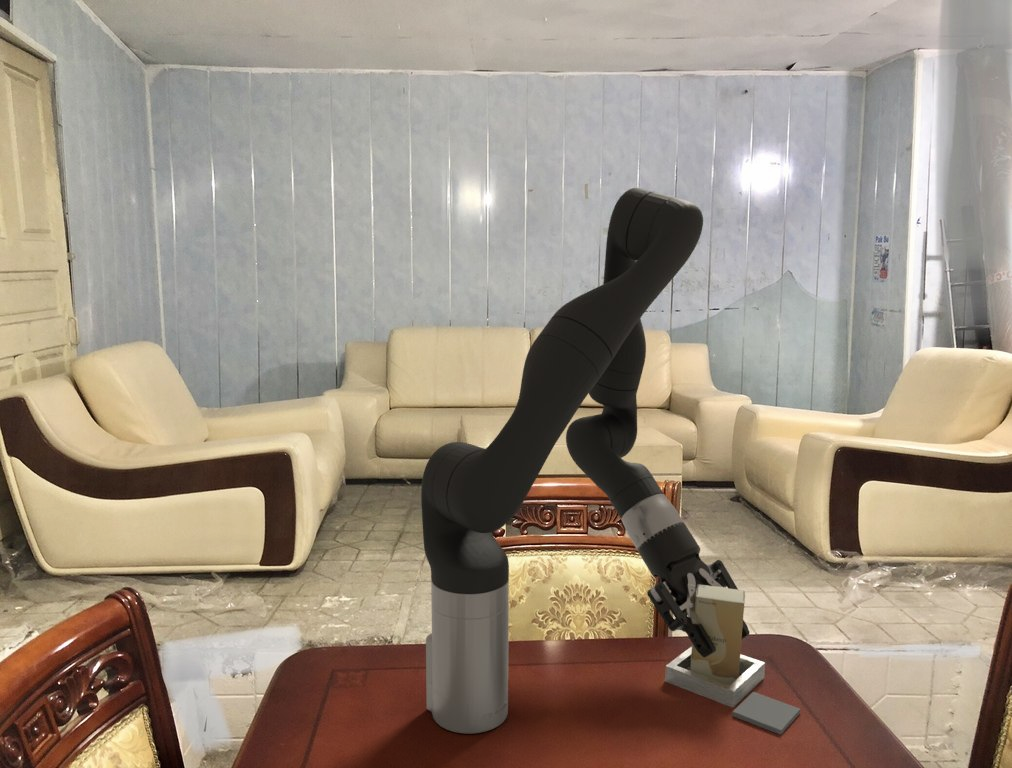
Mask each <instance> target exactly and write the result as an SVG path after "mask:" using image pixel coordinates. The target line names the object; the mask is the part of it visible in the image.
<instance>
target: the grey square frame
mask: <svg viewBox="0 0 1012 768" xmlns="http://www.w3.org/2000/svg"><path fill="white" fill-rule="evenodd" d="M691 653H692V645H691V646H690V647H688V649H686V650H684V652H682V653H681V654H679V655H678V656H677V657H676V658H674V659H672V660H671V661H670V662H669V663H667V664H666V665H665V672H664V674H665V675H664V676H665V677H664V682H665V683H668V684H671V685H673V686H675V687H678V688H680V689H683V690H686V691H689V692H691V693H693V694H696V695H698V696H701V697H705V698H707V699H709V700H711V701H714V702H717V703H719V704H722V705H724V706H728V707H730V708H732V709H733V708H735V706H737V704H739V702H741V701H742V700H743V699H744V698H745V697H746V696H747V695H748V694H749V693H750V692H752V691H753V689H754V688H755V687H756V686H758V685H759V684H760V683H761V682H762V680H764V679H765V673H766V671H765V670H766V662H764V661H762V660H759V659H756V658H753V657H751V656H747V655H744V654H741V653H740V663H739V676H738V678H737V679H736V680H735V681H734V682H733V683H732V684H731V685H728V684H725V683H722V682H720V681H717V680H714V679H711V678H709V677H706V676H703V675H700V674H698V673H695V672H692V671H690V667H691ZM740 674H741V675H740Z"/></svg>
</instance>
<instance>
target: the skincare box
mask: <svg viewBox="0 0 1012 768" xmlns="http://www.w3.org/2000/svg"><path fill="white" fill-rule="evenodd" d="M745 601H746V591H745V590H743V589H738V590H736V589H729V588H728V587H726V588H725V587H717V586H707V585H701V584H698V585H697V590H696V600H695V613H696V614H697V615H698V620H699V623H698V625H699V624H702V626H703V627H704V629H705V631H706V632H707V634H708V636H709V637H710V639H711V641H712V642H713V644H714V646H715V647H716V651H715V652H714V653H712V654H710V655H709V656H707V657H702V656H701V654H699V653H698V652H697V650H696V648H695V646H694V645H693V643H692V642H691V643H692V644H691V646H692V653H691V667H690V671H692V672H695V673H698V674H700V675H703V676H706V677H709V678H711V679H714V680H717V681H720V682H722V683H725V684H728V685H731V684H732V683H733V682H734V681H735V680H736V679H737V678H739V677H740V673H739V663H740V654H741V650H742V640H743V639H742V627H743V620H744V613H745V612H744V610H745Z"/></svg>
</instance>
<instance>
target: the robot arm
mask: <svg viewBox="0 0 1012 768" xmlns="http://www.w3.org/2000/svg"><path fill="white" fill-rule="evenodd" d="M613 207H614V208H613V209H612V212H611V215H610V219H609V223H608V228H607V235H606V243H605V244H606V245H605V256H604V258H605V259H604V269H603V284H602V285H599V286H597V287H595V288H593V289H591V290H589V291H587V292H585V293H582V294H580V295H579V296H577V297H575V298H572V300H570V301H568V302H567V303H565V304H564V305H562V306H560V308H559V309H557V310H556V312H555V313H554V314H553V315H552V317H551V318H550V319H549V320H548V322H547V323H546V324H545V326H544V328H542V330H541V332H540V333H539V334H538V336H537V337H536V338H535V340H534V341H533V342H532V343H531V345H530V347H529V349H528V352H527V355H526V356H525V357H526V358H525V360H524V365H523V368H522V369H523V371H522V375H521V382H520V383H521V384H520V388H519V389H520V391H519V395H518V400H517V402H516V406H515V408H514V409H513V412H512V414H511V415H510V417H509V419H508V420H507V421H506V423H505V424H504V426H503V427H502V428H501V430H500V431H499V433H498V434H497V435H496V436H495V438H493V440H492V441H491V443H490V444H489V445H488V446H487V447H486V448H484V447H480V446H478V445H474V444H471V443H469V442H462V441H452V442H449V443H446V444H443V445H442V446H440V447H439V448H437V450H435V451H434V452H433V454H432V455H431V456H430V458H429V459H428V461H427V462H426V465H425V467H424V471H423V475H422V479H421V488H420V489H421V492H420V493H421V494H420V497H421V499H420V500H421V505H420V506H421V518H422V519H421V522H422V523H421V524H422V534H423V536H422V537H423V548H424V549H423V550H424V554H425V557H426V559H427V563H428V564H429V567H430V582H431V583H430V584H431V589H430V590H431V596H430V597H431V599H430V600H431V601H430V602H431V633H430V634H427V636H426V638H425V664H426V665H425V672H426V673H425V676H426V677H425V678H426V679H425V680H426V681H425V682H426V684H425V685H426V686H425V687H426V691H425V692H426V710H428V711H429V712H430V713H431V714H432V719H433V720H434V722H436V724H438V725H439V726H440V727H441V728H443V729H444V730H447V731H450V732H453V733H459V734H479V733H480V734H481V733H485V732H489V731H491V730H493V729H495V728H498V727H500V725H502V723H504V722H505V720H506V719H507V718H508V714H509V712H508V711H509V636H510V634H509V627H510V625H509V623H510V619H509V614H510V613H509V610H510V607H509V606H510V602H509V599H510V597H509V596H510V595H509V594H510V591H509V590H510V584H509V583H510V581H509V579H510V565H509V564H510V563H509V558H508V555H507V553H506V552H505V550H504V549H503V548H502V547H501V545H500V544H499V543H498V540H496V538H495V536H494V535H493V532H497V530H499V529H502V528H503V527H504V526H506V525H507V524H508V522H510V521H511V520H512V519H513V517H514V516H515V515H516V513H517V512H518V511H519V509H520V507H521V506H522V505H523V503H524V501H525V500H526V498H527V497H528V494H529V492H530V490H531V489H532V487H533V485H534V484H535V482H536V480H537V478H538V476H539V474H540V472H541V470H542V469H543V466H544V465H545V463H546V462H547V459H548V458H549V456H550V454H551V452H552V450H553V449H554V446H555V445H556V443H557V442H558V440H559V439H560V437H561V435H562V434H563V433H564V431H565V430H566V432H565V443H566V448H567V451H568V454H569V455H570V458H571V459H572V460H573V462H574V464H575V465H577V467H578V468H579V469H580V470H581V471H582V473H584V474H585V476H586V477H588V478H589V480H590V481H592V482H593V483H594V485H596V487H597V488H598V489H599V490H601V491H602V492H603V493H604V494H605V495H606V496H607V498H608V499H609V501H610V503H611V504H612V506H613V508H614V510H615V511H616V513H617V515H618V516H619V518H620V520H621V522H622V524H623V526H624V529H625V531H626V532H627V535H628V537H629V538H630V540H631V542H632V544H633V545H634V548H635V549H636V550H637V552H638V554H639V555H640V557H641V559H642V560H643V562H644V564H645V566H646V567H647V569H648V570H649V572H650V574H651V576H653V578H659V580H660V581H658V582H657V583H656V584H655V585H653V586H652V587H651V588H649V589H648V590H647V591H646V593H647V596H648V598H649V599H650V601H651V602H652V604H653V606H654V607H655V609H656V610H657V612H658V613H659V615H660V617H661V618H662V620H663V622H664V623H665V625H666V626H667V627H668V629H669V630H670V631H671V632H676V631H682V632H684V633H686V635H687V636H688V638H689V640H690V642H691V643H693V645H694V646H695V648H696V650H697V652H698V653H699V654H701V656H702V657H707V656H709V655H710V654H712V653H714V652H715V651H716V647H715V646H714V644H713V642H712V641H711V639H710V637H709V636H708V634H707V632H706V631H705V629H704V627H703V626H702V624H699V625H698V623H699V620H698V615H697V614H696V613H695V600H696V590H697V585H698V584H701V585H707V586H717V587H725V588H729V589H736V590H739V589H738V588H739V587H737V585H736V584H735V582H734V580H733V578H732V576H731V574H730V573H729V571H728V569H727V568H726V566H725V564H724V563H723V561H721V559H717V560H716V561H715V560H714V562H712V563H711V564H706V563H705V562H704V561H703V560H702V559H701V557H700V553H701V547H700V545H699V543H698V542H697V541H696V538H694V536H693V534H692V533H691V531H690V529H689V528H688V526H687V525H686V523H685V521H684V520H683V518H682V517H681V516H680V514H679V511H677V509H676V508H675V506H674V505H673V504H672V502H671V501H670V500H669V499H668V498H667V496H666V495H665V493H664V492H663V490H662V489H661V487H660V485H659V484H658V482H657V481H656V479H655V477H654V476H653V474H652V473H651V471H650V470H649V469H648V467H646V466H645V465H644V464H642V463H638V462H637V463H636V462H630V461H626V460H624V459H623V458H624V457H626V456H627V455H628V454H629V453H630V452H631V451H632V449H633V447H634V445H635V443H636V440H637V436H638V404H637V403H638V402H637V401H638V400H637V394H638V390H639V386H640V382H641V380H642V379H641V378H642V374H643V370H644V367H645V362H646V357H647V356H646V355H647V343H646V336H645V331H644V326H643V323H642V320H641V318H642V317H643V315H644V314H645V312H646V311H647V310H649V307H650V306H651V305H652V304H653V303H654V302H655V300H656V299H657V298H658V296H659V295H660V294H661V293H662V292H663V291H664V290H665V288H666V287H667V286H668V285H669V283H670V282H671V281H672V280H673V279H674V278H675V276H676V275H677V274H678V273H679V271H680V270H681V269H682V268H683V266H685V264H686V262H688V260H689V259H690V257H691V255H692V254H693V252H694V251H695V248H696V247H697V245H698V242H699V240H700V238H701V235H702V231H703V226H704V216H703V213H702V211H701V209H700V208H699V206H697V205H696V204H695V203H692V202H691V201H688V200H685V199H682V198H678V197H675V196H672V195H668V194H664V193H660V192H656V191H652V190H648V189H644V188H638V187H633V188H630V189H628V190H626V191H625V192H624V193H622V195H621V196H620V197H619V198H618V200H617V201H616V203H615V205H614V206H613ZM588 395H589V397H590V398H591V400H592V401H594V402H595V403H597V404H599V405H602V406H603V408H602V411H601V413H599V414H594V415H589V416H582V417H580V418H577V419H574V420H573V421H572V422H571V420H572V419H573V418H574V415H575V414H576V413H577V411H578V410H579V407H580V406H581V405H582V403H583V401H584V400H585V399H586V397H587V396H588ZM570 422H571V423H570ZM569 423H570V424H569ZM568 425H569V426H568ZM567 426H568V427H567ZM566 428H567V429H566ZM672 614H673V615H672ZM673 616H674V617H673ZM749 635H750V630H749V627H748V625H747V623H746V621H745V620H744V619H743V627H742V639H741V640H743V639H745V638H747V636H749Z"/></svg>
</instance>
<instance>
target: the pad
mask: <svg viewBox="0 0 1012 768" xmlns="http://www.w3.org/2000/svg"><path fill="white" fill-rule="evenodd" d="M800 715H801V708H799V707H797V706H794V705H791V704H788V703H786V702H783V701H780V700H777V699H775V698H771V697H770V696H767V695H763V694H762V693H761V694H760V693H758V692H755V691H753V692H751V693H750V694H749V695H748V696H747V697H746V698H745V699H744V700H743V701H742V702H741V703H740V704H739V705H738V706H737V707H736V708H734V709H733V710H732V717H734V718H737V719H740V720H741V721H745V722H747V723H750V724H752V725H754V726H757V727H759V728H762V729H765V730H767V731H770V732H772V733H775V734H777V735H780V736H781V735H782V734H783V733H784V732H785V731H786V730H787V729H788V728H789V726H790V725H791V724H792V723H793V722H794V721H795V720H796V718H798V716H800Z"/></svg>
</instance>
